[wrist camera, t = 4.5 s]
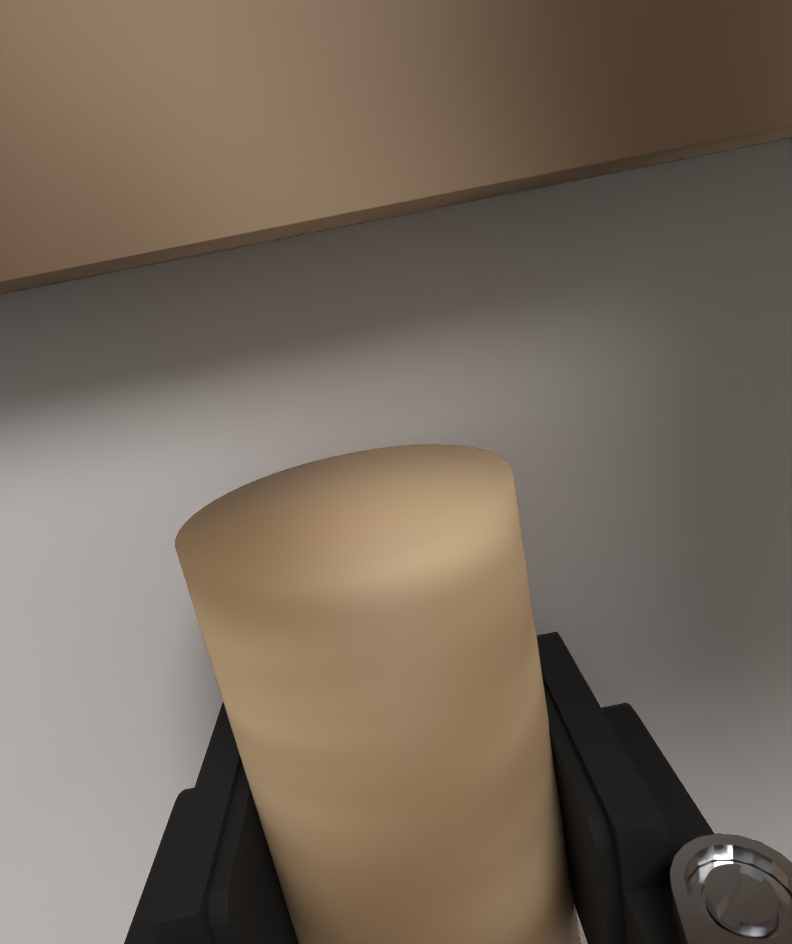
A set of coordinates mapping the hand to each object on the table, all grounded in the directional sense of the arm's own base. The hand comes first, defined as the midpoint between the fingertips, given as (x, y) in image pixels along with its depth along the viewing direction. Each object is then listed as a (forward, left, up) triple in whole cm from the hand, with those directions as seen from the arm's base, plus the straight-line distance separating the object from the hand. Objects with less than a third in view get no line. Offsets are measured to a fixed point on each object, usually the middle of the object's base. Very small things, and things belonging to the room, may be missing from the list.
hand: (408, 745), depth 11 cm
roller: (+1, 0, 0) cm, 1 cm away
